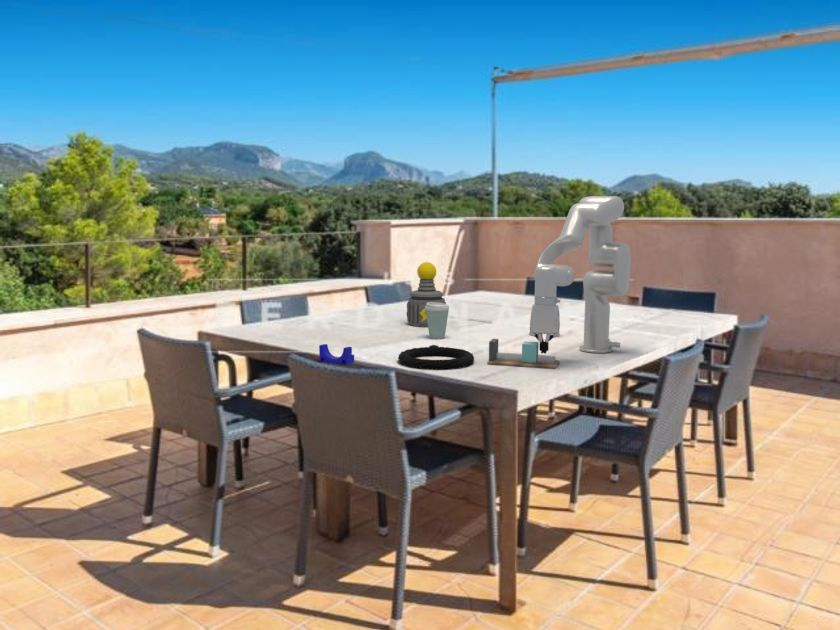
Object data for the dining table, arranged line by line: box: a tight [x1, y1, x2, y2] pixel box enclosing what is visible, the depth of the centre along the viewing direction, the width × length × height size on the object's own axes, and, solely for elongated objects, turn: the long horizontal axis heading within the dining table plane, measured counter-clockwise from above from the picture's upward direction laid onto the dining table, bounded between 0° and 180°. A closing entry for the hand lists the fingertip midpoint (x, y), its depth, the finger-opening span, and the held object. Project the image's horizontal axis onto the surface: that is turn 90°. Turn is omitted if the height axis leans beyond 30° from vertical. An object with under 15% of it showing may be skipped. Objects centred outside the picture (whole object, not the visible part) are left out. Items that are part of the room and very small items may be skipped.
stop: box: [488, 338, 499, 361], centre depth 267 cm, size 2×7×7 cm, turn 163°
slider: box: [521, 340, 540, 363], centre depth 263 cm, size 5×6×6 cm
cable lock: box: [397, 344, 475, 370], centre depth 267 cm, size 28×4×30 cm
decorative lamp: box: [406, 261, 447, 328], centre depth 352 cm, size 19×19×30 cm
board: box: [486, 359, 560, 370], centre depth 264 cm, size 24×12×1 cm, turn 73°
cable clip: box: [318, 343, 355, 365], centre depth 265 cm, size 12×4×6 cm, turn 62°
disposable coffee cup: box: [425, 302, 450, 340], centre depth 315 cm, size 11×11×15 cm
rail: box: [496, 351, 556, 364], centre depth 264 cm, size 21×2×2 cm, turn 73°
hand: (543, 352), depth 261 cm, fingers closed
